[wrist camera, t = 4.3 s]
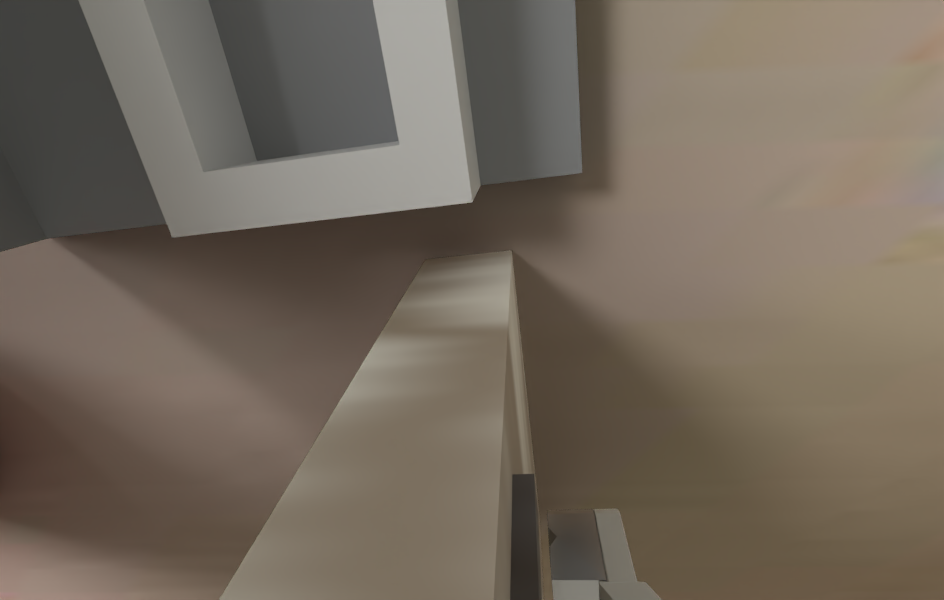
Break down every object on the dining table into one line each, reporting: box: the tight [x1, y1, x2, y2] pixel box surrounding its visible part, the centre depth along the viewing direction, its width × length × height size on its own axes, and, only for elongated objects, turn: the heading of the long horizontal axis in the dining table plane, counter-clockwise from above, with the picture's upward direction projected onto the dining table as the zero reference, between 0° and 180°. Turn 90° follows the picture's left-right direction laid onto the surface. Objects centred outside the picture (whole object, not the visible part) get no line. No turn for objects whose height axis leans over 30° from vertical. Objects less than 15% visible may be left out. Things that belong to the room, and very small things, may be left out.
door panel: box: [219, 250, 544, 600], centre depth 9 cm, size 3×10×11 cm, turn 8°
